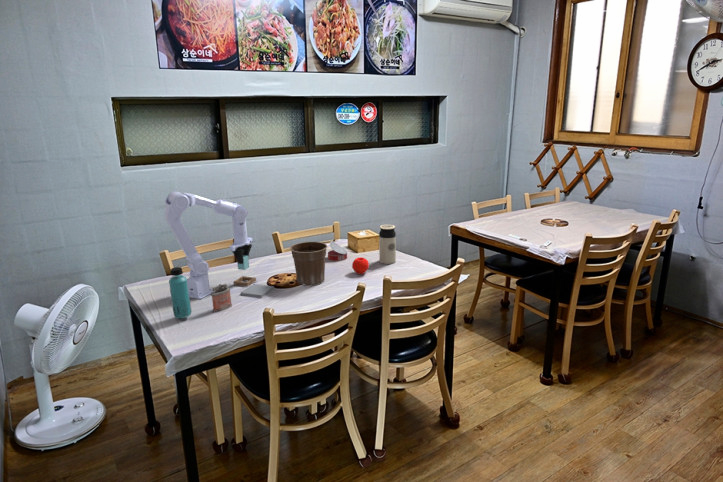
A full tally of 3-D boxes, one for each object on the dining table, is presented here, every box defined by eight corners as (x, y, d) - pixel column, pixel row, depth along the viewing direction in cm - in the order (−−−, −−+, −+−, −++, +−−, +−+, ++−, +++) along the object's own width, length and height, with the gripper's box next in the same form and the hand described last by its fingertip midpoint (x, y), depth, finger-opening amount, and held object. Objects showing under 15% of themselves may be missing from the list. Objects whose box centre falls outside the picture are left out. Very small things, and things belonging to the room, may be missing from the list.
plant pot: (287, 278, 218) (285, 244, 213) (320, 272, 225) (318, 239, 220) (299, 290, 204) (297, 254, 199) (334, 283, 211) (333, 248, 206)
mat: (261, 297, 198) (261, 295, 197) (241, 294, 201) (240, 292, 201) (274, 288, 206) (274, 286, 206) (254, 285, 210) (254, 283, 210)
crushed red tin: (228, 304, 192) (226, 280, 189) (233, 306, 190) (231, 282, 187) (211, 310, 186) (208, 287, 183) (216, 313, 184) (213, 289, 181)
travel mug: (377, 260, 240) (376, 225, 234) (392, 258, 242) (392, 223, 237) (382, 265, 232) (382, 229, 227) (398, 263, 235) (398, 227, 229)
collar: (247, 286, 209) (247, 283, 209) (233, 284, 212) (233, 281, 211) (256, 280, 216) (255, 277, 215) (242, 279, 218) (242, 276, 218)
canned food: (337, 263, 250) (342, 245, 251) (348, 266, 243) (354, 247, 244) (320, 257, 243) (325, 238, 244) (331, 260, 236) (337, 241, 237)
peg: (244, 270, 210) (243, 258, 208) (238, 269, 211) (236, 257, 209) (249, 267, 213) (248, 255, 211) (242, 266, 214) (241, 254, 212)
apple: (372, 274, 220) (371, 259, 218) (355, 277, 218) (355, 261, 215) (365, 269, 227) (365, 254, 225) (349, 271, 225) (349, 256, 223)
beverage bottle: (194, 314, 184) (188, 264, 178) (189, 321, 177) (182, 271, 172) (177, 314, 183) (170, 265, 178) (171, 322, 177) (163, 271, 171)
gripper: (238, 237, 199) (241, 268, 203) (257, 228, 212) (259, 257, 216) (224, 236, 201) (227, 266, 205) (243, 227, 214) (246, 256, 218)
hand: (243, 262), depth 211 cm, fingers closed on peg, 3 cm apart
